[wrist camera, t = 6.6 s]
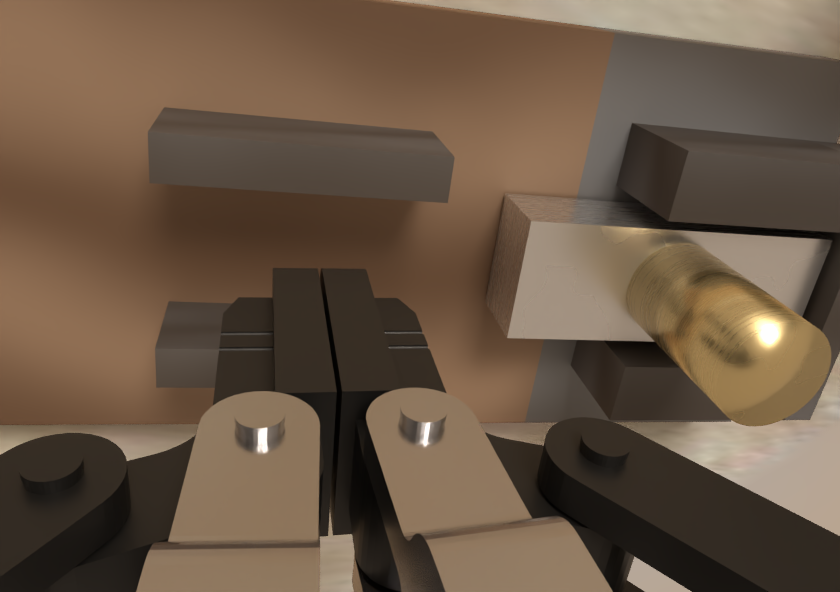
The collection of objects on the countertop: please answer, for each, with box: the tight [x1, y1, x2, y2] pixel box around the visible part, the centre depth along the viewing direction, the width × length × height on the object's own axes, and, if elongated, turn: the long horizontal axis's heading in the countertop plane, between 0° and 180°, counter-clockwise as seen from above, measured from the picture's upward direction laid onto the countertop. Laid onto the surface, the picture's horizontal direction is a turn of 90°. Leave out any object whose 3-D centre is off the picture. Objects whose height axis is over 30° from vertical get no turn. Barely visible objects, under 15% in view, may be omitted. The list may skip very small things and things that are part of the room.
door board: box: [0, 0, 840, 425], centre depth 17 cm, size 11×22×4 cm, turn 82°
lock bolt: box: [485, 194, 833, 426], centre depth 16 cm, size 3×8×6 cm, turn 82°
